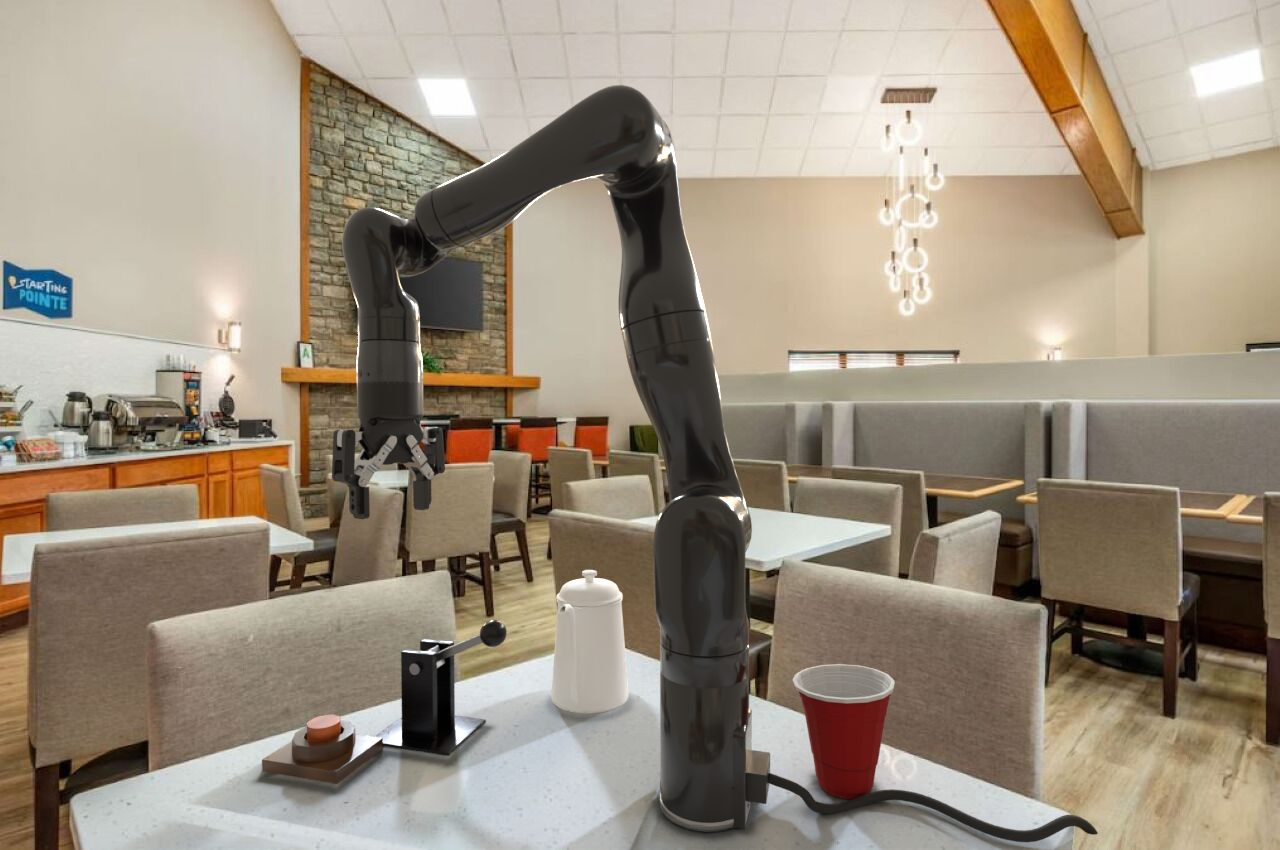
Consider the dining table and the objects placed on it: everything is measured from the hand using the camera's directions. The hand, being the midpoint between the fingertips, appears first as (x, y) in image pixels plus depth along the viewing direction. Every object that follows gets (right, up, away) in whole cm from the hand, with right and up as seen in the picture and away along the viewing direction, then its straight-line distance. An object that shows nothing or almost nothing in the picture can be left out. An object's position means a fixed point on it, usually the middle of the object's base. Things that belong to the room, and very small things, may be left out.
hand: (392, 513), depth 82 cm
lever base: (+3, -29, +3) cm, 29 cm away
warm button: (-7, -25, -4) cm, 27 cm away
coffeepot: (+23, -29, +13) cm, 39 cm away
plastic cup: (+52, -29, -7) cm, 60 cm away
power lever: (+9, -18, +1) cm, 20 cm away
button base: (-7, -29, -4) cm, 30 cm away
